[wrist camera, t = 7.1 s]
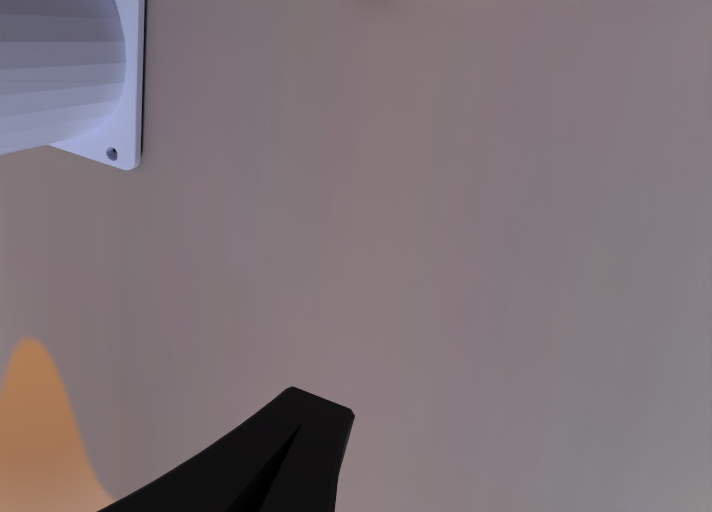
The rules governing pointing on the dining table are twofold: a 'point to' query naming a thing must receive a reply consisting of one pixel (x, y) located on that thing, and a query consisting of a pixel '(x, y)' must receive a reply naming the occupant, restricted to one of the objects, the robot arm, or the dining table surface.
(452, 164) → the dining table surface
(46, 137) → the robot arm
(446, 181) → the dining table surface
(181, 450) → the dining table surface
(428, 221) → the dining table surface
